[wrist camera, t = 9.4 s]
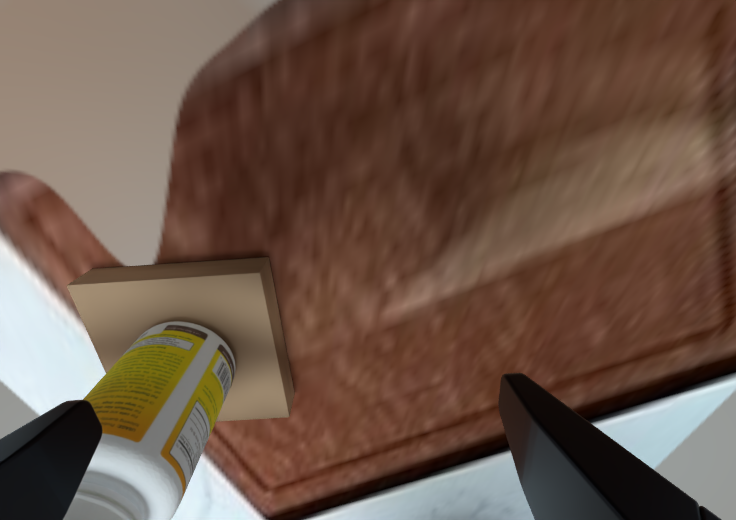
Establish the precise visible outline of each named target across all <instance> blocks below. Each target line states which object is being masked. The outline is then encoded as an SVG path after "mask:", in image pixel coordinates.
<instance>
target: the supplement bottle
mask: <svg viewBox="0 0 736 520" xmlns="http://www.w3.org/2000/svg"><path fill="white" fill-rule="evenodd" d="M234 376H235V360H234V357H233V354H232V352H231V350H230V348H229V347H228V345H227V344H226V343H225V342H224V341H223V340H222V339H221V338H220V337H219V336H218V335H217V334H215V333H214V332H212V331H211V330H209V329H207V328H205V327H203V326H200V325H197V324H193V323H189V322H181V321H174V322H166V323H162V324H159V325H156V326H154V327H152V328H150V329H148V330H147V331H146V332H144V333H143V334H142V335H141V336H140V337H139V338H138V339H137V340H136V341H135V342H134V343H133V344H132V346H131V347H130V348H129V349H128V350H127V351H126V352H125V353H124V354H123V356H122V357H121V358H120V359H119V360H118V361H117V362H116V363H115V364H114V366H113V367H112V368H111V369H110V370H109V371H108V372H107V373H106V375H105V376H104V377H103V378H102V379H101V380H100V381H99V382H98V383H97V385H96V386H95V387H94V388H93V389H92V390H91V391H90V392H89V394H88V395H87V396H86V397H85V398H84V399H83V400H87V401H89V402H90V403H91V405H92V406H93V409H94V411H95V413H96V415H97V417H98V419H99V421H100V423H101V425H102V429H103V432H102V437H101V440H100V442H99V444H98V446H97V449H96V451H95V453H94V455H93V457H92V459H91V462H90V464H89V466H88V468H87V470H86V473H85V475H84V477H83V479H82V481H81V483H80V486H79V488H78V490H77V492H76V494H75V497H74V499H73V501H72V503H71V505H70V507H69V509H68V511H67V513H66V515H65V517H64V519H63V520H170V519H171V518H172V517H173V516H174V514H175V512H176V510H177V508H178V506H179V504H180V502H181V500H182V498H183V495H184V493H185V491H186V489H187V486H188V484H189V482H190V479H191V477H192V475H193V472H194V470H195V468H196V465H197V463H198V461H199V458H200V456H201V454H202V452H203V449H204V447H205V445H206V443H207V440H208V438H209V436H210V433H211V431H212V429H213V427H214V424H215V422H216V419H217V417H218V415H219V413H220V410H221V408H222V406H223V403H224V401H225V399H226V396H227V394H228V392H229V389H230V387H231V386H232V382H233V379H234Z"/></svg>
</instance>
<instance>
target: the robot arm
mask: <svg viewBox="0 0 736 520" xmlns="http://www.w3.org/2000/svg"><path fill="white" fill-rule="evenodd" d="M499 412H500V416H501V419H502V422H503V426H504V429H505V433H506V436H507V439H508V443H509V446H510V450H511V453H512V456H513V460H514V463H515V467H516V470H517V473H518V477H519V480H520V483H521V486H522V489H523V491H524V494H525V496H526V499H527V501H528V504H529V506H530V509H531V511H532V514H533V516H534V519H535V520H721V519H720V518H718V517H717V516H716V515H715V514H713V513H712V512H710V511H709V510H708V509H706V508H705V507H703V506H699V505H698V503H697V502H696V501H695V500H694V499H693V498H691V497H690V496H688V495H687V494H686V493H684V492H683V491H682V490H680V489H679V488H678V487H676V486H675V485H674V484H672V483H671V482H669V481H668V480H667V479H665V478H664V477H663V476H661V475H660V474H659V473H657V472H656V471H655V470H653V469H652V468H651V467H649V466H648V465H646V464H645V463H644V462H642V461H641V460H640V459H638V458H637V457H636V456H634V455H633V454H632V453H630V452H629V451H627V450H626V449H625V448H623V447H622V446H621V445H619V444H618V443H617V442H615V441H614V440H613V439H611V438H610V437H608V436H607V435H606V434H604V433H603V432H602V431H600V430H599V429H598V428H596V427H595V426H594V425H592V424H591V423H590V422H588V421H587V420H585V419H584V418H583V417H581V416H580V415H579V414H577V413H576V412H575V411H573V410H572V409H571V408H569V407H568V406H566V405H565V404H564V403H562V402H561V401H560V400H558V399H557V398H556V397H554V396H553V395H552V394H550V393H549V392H547V391H546V390H545V389H543V388H542V387H541V386H539V385H538V384H537V383H535V382H534V381H533V380H531V379H530V378H528V377H527V376H526V375H524V374H522V373H508V374H504V375H502V378H501V384H500V393H499ZM102 432H103V429H102V425H101V423H100V421H99V419H98V417H97V415H96V413H95V411H94V409H93V406H92V405H91V403H90V402H89V401H87V400H73V401H66V402H64V403H62V404H60V405H58V406H57V407H55V408H53V409H51V410H50V411H48V412H46V413H45V414H43V415H41V416H39V417H38V418H36V419H34V420H33V421H31V422H29V423H27V424H26V425H24V426H22V427H21V428H19V429H17V430H15V431H14V432H12V433H11V434H8V435H7V436H5V437H3V438H2V439H0V520H63V519H64V517H65V515H66V513H67V511H68V509H69V507H70V505H71V503H72V501H73V499H74V497H75V494H76V492H77V490H78V488H79V486H80V483H81V481H82V479H83V477H84V475H85V473H86V470H87V468H88V466H89V464H90V462H91V459H92V457H93V455H94V453H95V451H96V449H97V446H98V444H99V442H100V440H101V437H102Z"/></svg>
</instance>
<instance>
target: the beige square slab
mask: <svg viewBox="0 0 736 520" xmlns="http://www.w3.org/2000/svg"><path fill="white" fill-rule="evenodd" d="M67 287H68V290H69V292H70V294H71V296H72V299H73V301H74V303H75V305H76V307H77V310H78V312H79V314H80V316H81V319H82V321H83V323H84V325H85V327H86V330H87V332H88V334H89V336H90V339H91V341H92V343H93V345H94V347H95V350H96V352H97V354H98V356H99V359H100V361H101V363H102V365H103V368H104V370H105V372H106V373H107V372H108V371H109V370H110V369H111V368H112V367H113V366H114V364H115V363H116V362H117V361H118V360H119V359H120V358H121V357H122V356H123V354H124V353H125V352H126V351H127V350H128V349H129V348H130V347H131V346H132V344H133V343H134V342H135V341H136V340H137V339H138V338H139V337H140V336H141V335H142V334H143V333H144V332H146V331H147V330H148V329H150V328H152V327H154V326H156V325H159V324H162V323H166V322H174V321H181V322H189V323H193V324H197V325H200V326H203V327H205V328H207V329H209V330H211V331H212V332H214V333H215V334H217V335H218V336H219V337H220V338H221V339H222V340H223V341H224V342H225V343H226V344H227V345H228V347H229V348H230V350H231V352H232V354H233V357H234V360H235V376H234V379H233V382H232V386H231V387H230V389H229V392H228V394H227V396H226V399H225V401H224V403H223V406H222V408H221V410H220V413H219V415H218V417H217V419H216V421H232V420H248V419H265V418H281V417H289V416H290V412H291V408H292V403H293V399H294V394H295V392H294V387H293V382H292V377H291V372H290V366H289V361H288V356H287V351H286V345H285V340H284V335H283V330H282V324H281V319H280V314H279V309H278V303H277V298H276V293H275V288H274V282H273V277H272V272H271V267H270V261H269V257H263V258H248V259H232V260H217V261H202V262H187V263H172V264H157V265H142V266H126V267H111V268H96V269H91V270H90V271H88V272H87V273H85V274H83V275H82V276H80V277H79V278H77V279H76V280H74V281H73V282H71V283H70V284H68V285H67Z"/></svg>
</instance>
